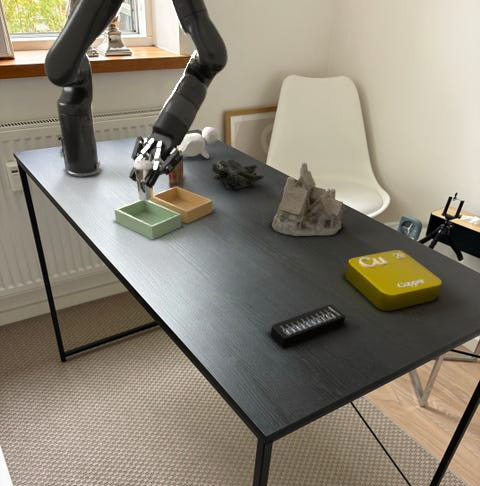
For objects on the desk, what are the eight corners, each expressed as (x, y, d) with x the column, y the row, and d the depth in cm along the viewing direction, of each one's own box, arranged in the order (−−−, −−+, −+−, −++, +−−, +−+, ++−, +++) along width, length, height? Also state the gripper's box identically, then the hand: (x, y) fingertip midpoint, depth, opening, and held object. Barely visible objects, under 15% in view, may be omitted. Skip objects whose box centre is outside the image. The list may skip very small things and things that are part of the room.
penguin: (186, 170, 161) (226, 149, 163) (177, 146, 155) (218, 125, 157) (177, 161, 167) (215, 141, 169) (168, 138, 161) (207, 118, 163)
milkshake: (160, 195, 119) (158, 155, 113) (148, 203, 116) (145, 161, 109) (145, 191, 121) (142, 151, 115) (132, 199, 117) (129, 157, 111)
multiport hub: (269, 334, 90) (270, 324, 89) (329, 313, 97) (331, 303, 95) (283, 348, 87) (285, 338, 86) (344, 325, 94) (346, 315, 92)
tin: (178, 193, 138) (177, 164, 133) (167, 192, 138) (166, 163, 133) (184, 173, 150) (184, 146, 145) (174, 173, 150) (173, 145, 145)
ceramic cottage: (262, 224, 125) (273, 168, 116) (298, 208, 136) (310, 155, 127) (313, 249, 118) (328, 191, 109) (346, 230, 129) (362, 176, 120)
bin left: (115, 221, 122) (114, 209, 120) (144, 210, 128) (144, 198, 126) (152, 239, 116) (151, 226, 114) (181, 226, 122) (181, 214, 120)
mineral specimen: (244, 182, 134) (236, 146, 133) (207, 196, 140) (199, 161, 139) (269, 185, 146) (261, 152, 145) (233, 197, 153) (226, 165, 152)
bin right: (150, 207, 130) (150, 196, 128) (176, 197, 136) (176, 186, 134) (186, 223, 124) (186, 211, 122) (212, 212, 130) (212, 200, 128)
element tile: (382, 313, 97) (387, 293, 95) (341, 275, 108) (345, 256, 105) (440, 299, 103) (447, 280, 100) (395, 264, 113) (400, 246, 111)
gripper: (145, 103, 115) (109, 166, 114) (189, 117, 108) (152, 184, 108) (162, 122, 121) (128, 182, 121) (205, 136, 115) (169, 199, 114)
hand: (140, 182), depth 114 cm, fingers closed on milkshake, 4 cm apart
